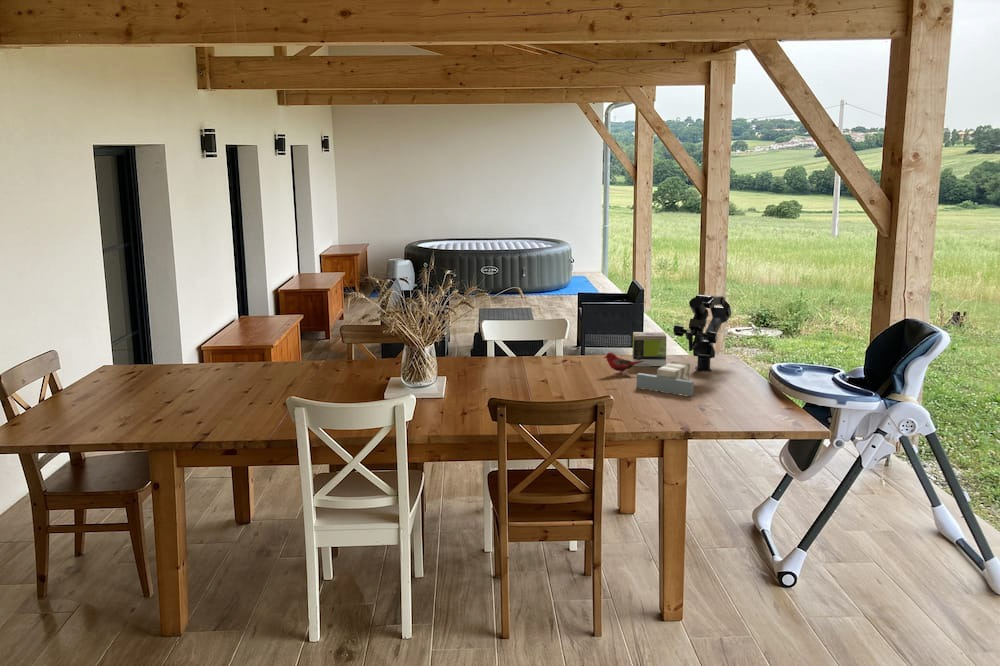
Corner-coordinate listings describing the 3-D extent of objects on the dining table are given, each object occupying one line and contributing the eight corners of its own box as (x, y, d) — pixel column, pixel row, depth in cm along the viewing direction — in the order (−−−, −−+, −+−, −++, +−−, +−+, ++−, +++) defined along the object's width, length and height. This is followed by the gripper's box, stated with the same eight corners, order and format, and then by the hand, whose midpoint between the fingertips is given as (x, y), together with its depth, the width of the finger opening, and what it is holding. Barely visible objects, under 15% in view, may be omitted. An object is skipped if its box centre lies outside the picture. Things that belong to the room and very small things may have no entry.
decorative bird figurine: (603, 373, 392) (603, 352, 389) (642, 373, 392) (643, 351, 390) (604, 375, 389) (604, 353, 387) (643, 374, 389) (644, 353, 387)
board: (639, 386, 370) (639, 372, 369) (692, 395, 357) (693, 381, 356) (636, 388, 368) (636, 374, 367) (690, 396, 355) (691, 382, 354)
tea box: (664, 362, 412) (665, 331, 409) (665, 367, 403) (667, 336, 399) (631, 361, 414) (632, 331, 411) (632, 366, 404) (633, 335, 401)
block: (671, 381, 379) (672, 361, 377) (689, 384, 375) (690, 363, 373) (656, 389, 366) (657, 369, 364) (674, 392, 362) (675, 371, 360)
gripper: (677, 307, 383) (667, 337, 377) (719, 315, 376) (710, 346, 370) (679, 319, 393) (669, 349, 387) (720, 327, 385) (711, 358, 380)
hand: (690, 350), depth 381 cm, fingers closed
